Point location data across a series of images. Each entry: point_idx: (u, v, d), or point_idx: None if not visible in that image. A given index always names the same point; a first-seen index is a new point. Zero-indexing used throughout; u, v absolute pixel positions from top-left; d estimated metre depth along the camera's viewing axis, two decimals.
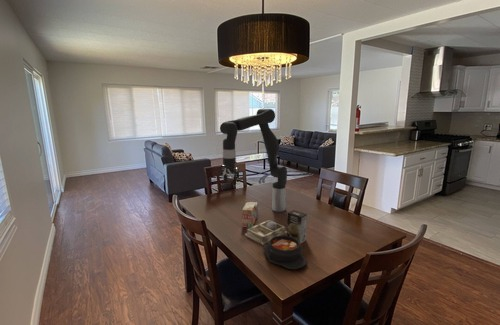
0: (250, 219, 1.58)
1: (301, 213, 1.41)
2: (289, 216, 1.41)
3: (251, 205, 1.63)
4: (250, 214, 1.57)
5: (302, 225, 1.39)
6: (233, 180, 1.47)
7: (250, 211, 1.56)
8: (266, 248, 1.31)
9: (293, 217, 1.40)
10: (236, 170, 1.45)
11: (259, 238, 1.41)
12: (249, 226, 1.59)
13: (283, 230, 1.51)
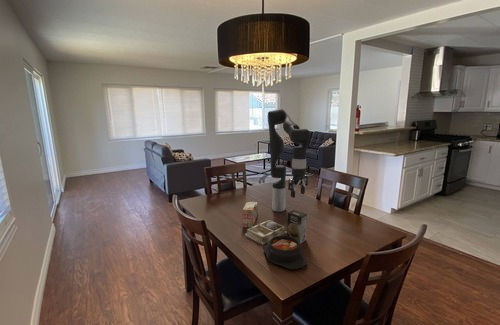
0: (250, 219, 1.58)
1: (301, 213, 1.41)
2: (289, 216, 1.41)
3: (251, 205, 1.64)
4: (250, 214, 1.57)
5: (302, 225, 1.39)
6: (304, 188, 1.41)
7: (250, 211, 1.57)
8: (266, 248, 1.31)
9: (293, 217, 1.40)
10: None
11: (259, 238, 1.41)
12: (249, 226, 1.59)
13: (283, 230, 1.51)
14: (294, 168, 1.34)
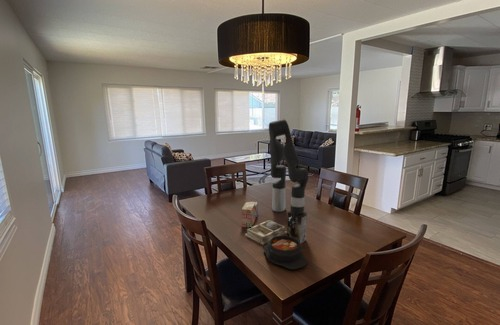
0: (249, 219, 1.58)
1: None
2: (289, 216, 1.41)
3: (251, 205, 1.64)
4: (249, 214, 1.58)
5: (302, 225, 1.39)
6: None
7: (249, 211, 1.57)
8: (266, 248, 1.31)
9: None
10: None
11: (259, 238, 1.41)
12: (248, 226, 1.59)
13: (283, 230, 1.51)
14: (293, 206, 1.38)
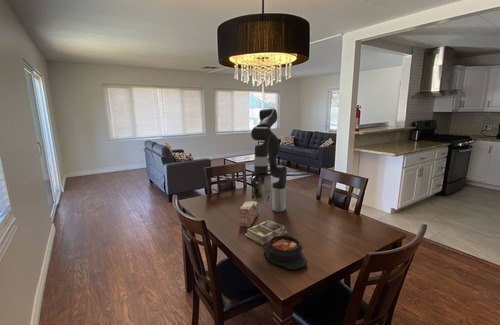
0: (247, 218, 1.59)
1: (265, 173, 1.40)
2: (253, 176, 1.40)
3: (249, 204, 1.65)
4: (247, 213, 1.58)
5: (266, 185, 1.38)
6: None
7: (247, 210, 1.58)
8: (266, 248, 1.31)
9: None
10: None
11: (259, 238, 1.41)
12: (246, 225, 1.60)
13: (283, 230, 1.51)
14: (256, 165, 1.37)
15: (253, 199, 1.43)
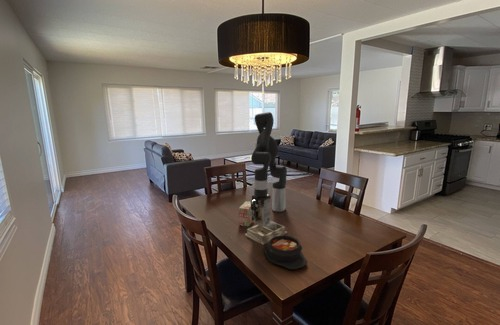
0: (246, 218, 1.59)
1: None
2: (253, 199, 1.43)
3: (249, 204, 1.65)
4: (246, 213, 1.59)
5: (265, 208, 1.40)
6: None
7: (246, 210, 1.58)
8: (266, 248, 1.31)
9: None
10: None
11: (259, 238, 1.41)
12: (245, 225, 1.61)
13: (283, 230, 1.51)
14: (256, 189, 1.39)
15: (253, 221, 1.46)
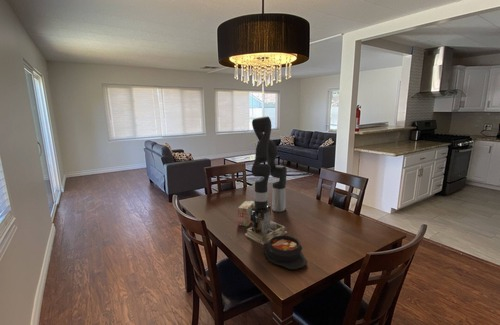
0: (245, 217, 1.60)
1: (265, 209, 1.44)
2: None
3: (248, 204, 1.65)
4: (245, 212, 1.59)
5: (265, 221, 1.42)
6: None
7: (245, 210, 1.59)
8: (266, 248, 1.31)
9: None
10: None
11: (259, 238, 1.41)
12: (244, 224, 1.61)
13: (283, 230, 1.51)
14: (256, 201, 1.41)
15: None
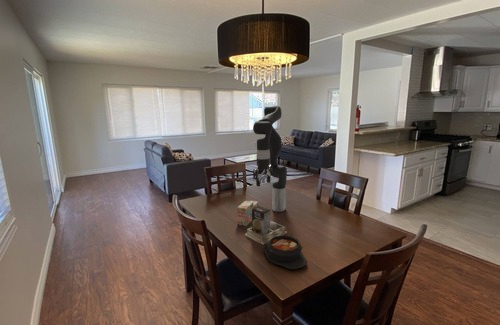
0: (244, 217, 1.60)
1: (265, 209, 1.44)
2: (253, 212, 1.45)
3: (248, 204, 1.66)
4: (244, 212, 1.60)
5: (265, 221, 1.42)
6: (269, 178, 1.50)
7: (244, 209, 1.59)
8: (266, 248, 1.31)
9: (256, 213, 1.43)
10: None
11: (259, 238, 1.41)
12: (244, 224, 1.62)
13: (283, 230, 1.51)
14: (258, 159, 1.42)
15: None
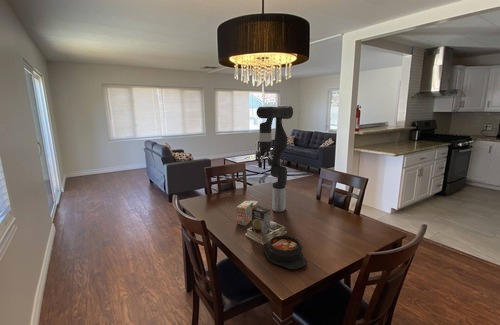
0: (244, 217, 1.61)
1: (265, 209, 1.44)
2: (253, 212, 1.45)
3: (247, 203, 1.66)
4: (244, 212, 1.60)
5: (265, 221, 1.42)
6: (271, 161, 1.58)
7: (244, 209, 1.60)
8: (266, 248, 1.31)
9: (256, 213, 1.43)
10: None
11: (259, 238, 1.41)
12: (243, 224, 1.62)
13: (283, 230, 1.51)
14: (260, 141, 1.50)
15: None
